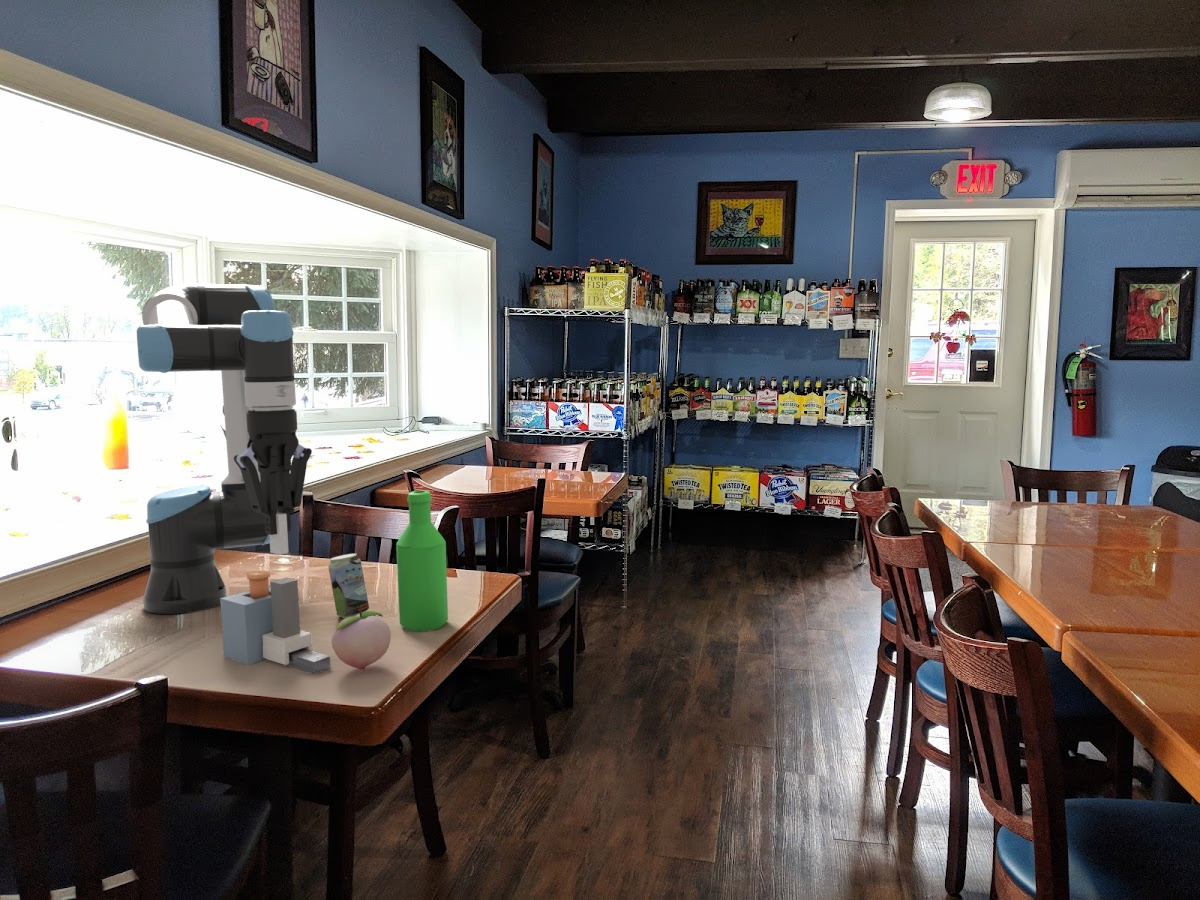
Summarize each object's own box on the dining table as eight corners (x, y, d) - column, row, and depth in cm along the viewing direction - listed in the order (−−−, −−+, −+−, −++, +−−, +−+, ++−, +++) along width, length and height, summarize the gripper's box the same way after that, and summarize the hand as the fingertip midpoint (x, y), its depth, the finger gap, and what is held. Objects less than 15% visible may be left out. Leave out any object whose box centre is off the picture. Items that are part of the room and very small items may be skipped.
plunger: (244, 603, 143) (242, 574, 143) (263, 598, 146) (261, 569, 146) (256, 606, 141) (255, 577, 141) (276, 601, 144) (274, 572, 144)
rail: (269, 659, 141) (268, 647, 141) (285, 653, 144) (284, 642, 144) (314, 674, 134) (314, 662, 134) (330, 668, 137) (329, 656, 137)
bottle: (431, 635, 152) (426, 497, 149) (390, 630, 155) (384, 494, 152) (456, 620, 161) (452, 489, 158) (416, 615, 164) (411, 487, 161)
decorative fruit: (367, 683, 130) (364, 620, 129) (324, 676, 133) (321, 614, 132) (403, 663, 139) (401, 603, 138) (362, 656, 142) (360, 598, 141)
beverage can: (360, 622, 160) (357, 559, 159) (324, 620, 162) (321, 558, 160) (375, 612, 166) (372, 551, 165) (340, 610, 168) (337, 550, 166)
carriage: (263, 657, 140) (258, 581, 139) (290, 648, 145) (286, 574, 143) (285, 665, 137) (280, 587, 135) (312, 655, 141) (308, 579, 140)
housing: (223, 656, 143) (220, 598, 142) (276, 639, 151) (273, 584, 150) (248, 664, 139) (244, 605, 138) (301, 647, 147) (298, 590, 146)
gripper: (248, 412, 129) (257, 564, 132) (320, 406, 140) (327, 547, 142) (219, 410, 133) (229, 558, 136) (292, 405, 144) (299, 542, 147)
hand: (279, 552), depth 139 cm, fingers closed
